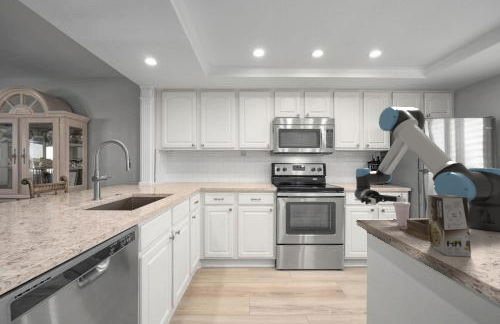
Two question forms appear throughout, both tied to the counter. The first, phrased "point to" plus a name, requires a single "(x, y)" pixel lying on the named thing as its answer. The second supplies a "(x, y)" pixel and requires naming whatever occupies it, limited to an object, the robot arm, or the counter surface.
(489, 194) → the robot arm
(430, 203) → the coffee box
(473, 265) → the counter surface
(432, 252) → the counter surface
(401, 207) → the smoothie
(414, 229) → the caddy
